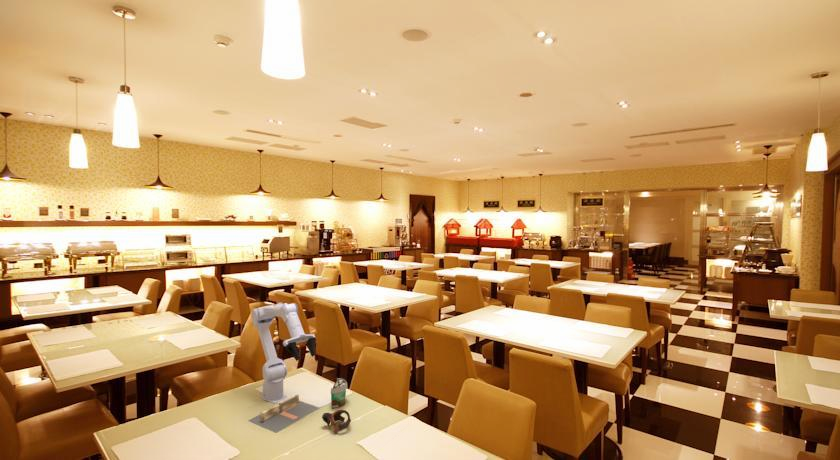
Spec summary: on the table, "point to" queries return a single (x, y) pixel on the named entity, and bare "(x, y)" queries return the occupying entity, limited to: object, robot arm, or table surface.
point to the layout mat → (285, 417)
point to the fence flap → (269, 413)
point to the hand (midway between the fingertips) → (306, 357)
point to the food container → (338, 393)
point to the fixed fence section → (288, 403)
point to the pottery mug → (337, 417)
